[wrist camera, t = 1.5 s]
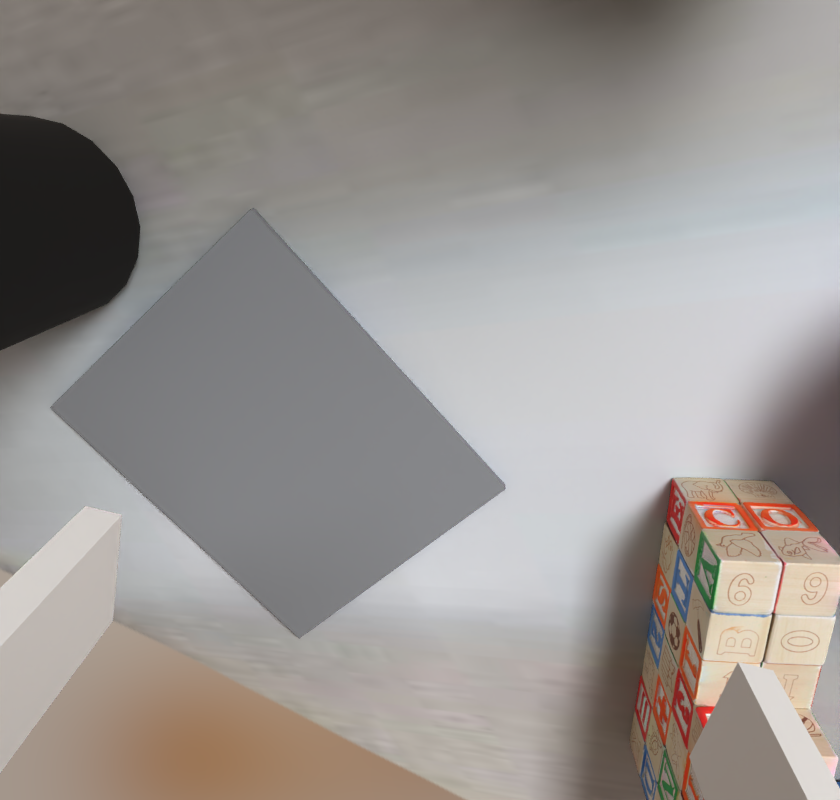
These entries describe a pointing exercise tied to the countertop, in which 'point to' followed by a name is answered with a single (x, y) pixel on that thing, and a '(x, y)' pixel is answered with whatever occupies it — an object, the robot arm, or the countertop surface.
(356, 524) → the mat
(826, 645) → the stack of blocks
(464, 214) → the countertop surface
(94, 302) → the coffee jar
